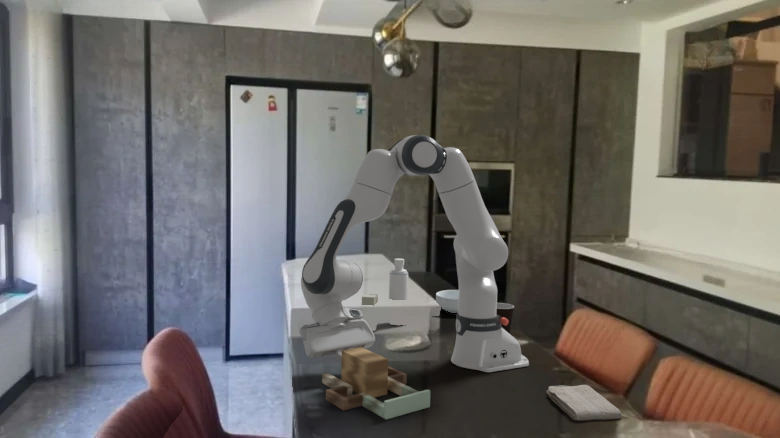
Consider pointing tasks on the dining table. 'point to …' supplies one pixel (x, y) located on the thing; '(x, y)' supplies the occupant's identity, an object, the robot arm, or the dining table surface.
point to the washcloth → (583, 403)
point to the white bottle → (398, 281)
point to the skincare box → (369, 299)
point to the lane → (345, 400)
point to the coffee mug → (505, 314)
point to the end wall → (406, 404)
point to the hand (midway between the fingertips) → (350, 365)
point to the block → (365, 371)
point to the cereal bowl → (448, 300)
